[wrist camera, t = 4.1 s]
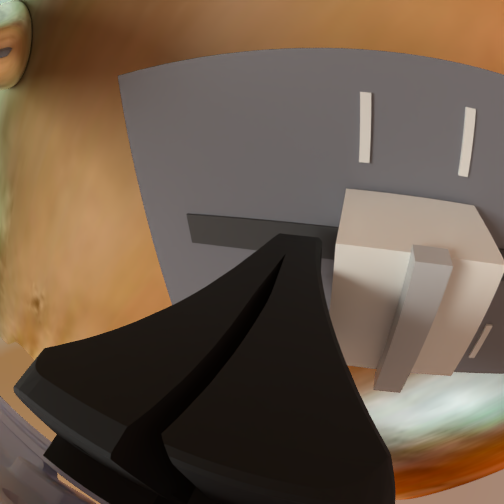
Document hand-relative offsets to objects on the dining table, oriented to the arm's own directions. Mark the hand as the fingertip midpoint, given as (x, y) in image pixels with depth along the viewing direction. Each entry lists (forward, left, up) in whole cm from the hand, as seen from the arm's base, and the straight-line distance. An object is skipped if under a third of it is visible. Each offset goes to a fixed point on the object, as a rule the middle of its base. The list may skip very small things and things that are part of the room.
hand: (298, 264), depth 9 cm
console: (0, -5, -3) cm, 6 cm away
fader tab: (0, -3, -1) cm, 3 cm away
